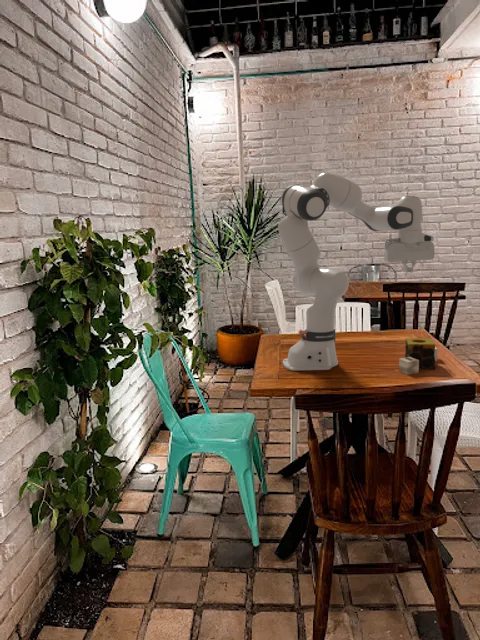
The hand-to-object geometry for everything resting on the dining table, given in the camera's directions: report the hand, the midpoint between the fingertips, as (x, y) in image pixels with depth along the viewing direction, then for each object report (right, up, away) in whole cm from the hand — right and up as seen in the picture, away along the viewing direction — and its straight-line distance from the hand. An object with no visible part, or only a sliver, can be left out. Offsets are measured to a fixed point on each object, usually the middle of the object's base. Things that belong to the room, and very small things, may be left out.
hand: (408, 272), depth 194 cm
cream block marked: (+8, -36, 0) cm, 37 cm away
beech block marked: (-5, -39, -14) cm, 42 cm away
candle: (+2, -38, -7) cm, 38 cm away
